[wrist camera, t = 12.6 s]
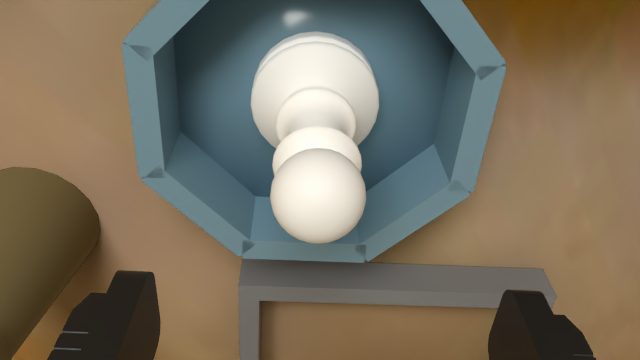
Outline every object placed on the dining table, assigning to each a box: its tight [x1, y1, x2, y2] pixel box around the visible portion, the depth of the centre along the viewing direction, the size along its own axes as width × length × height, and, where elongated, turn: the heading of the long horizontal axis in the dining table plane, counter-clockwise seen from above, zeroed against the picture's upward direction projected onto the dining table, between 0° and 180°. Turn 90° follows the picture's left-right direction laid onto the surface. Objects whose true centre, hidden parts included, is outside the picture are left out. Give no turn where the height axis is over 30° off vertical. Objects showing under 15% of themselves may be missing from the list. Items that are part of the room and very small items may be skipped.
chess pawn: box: [251, 31, 379, 244], centre depth 19 cm, size 5×5×9 cm
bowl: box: [121, 0, 507, 263], centre depth 22 cm, size 13×13×4 cm
